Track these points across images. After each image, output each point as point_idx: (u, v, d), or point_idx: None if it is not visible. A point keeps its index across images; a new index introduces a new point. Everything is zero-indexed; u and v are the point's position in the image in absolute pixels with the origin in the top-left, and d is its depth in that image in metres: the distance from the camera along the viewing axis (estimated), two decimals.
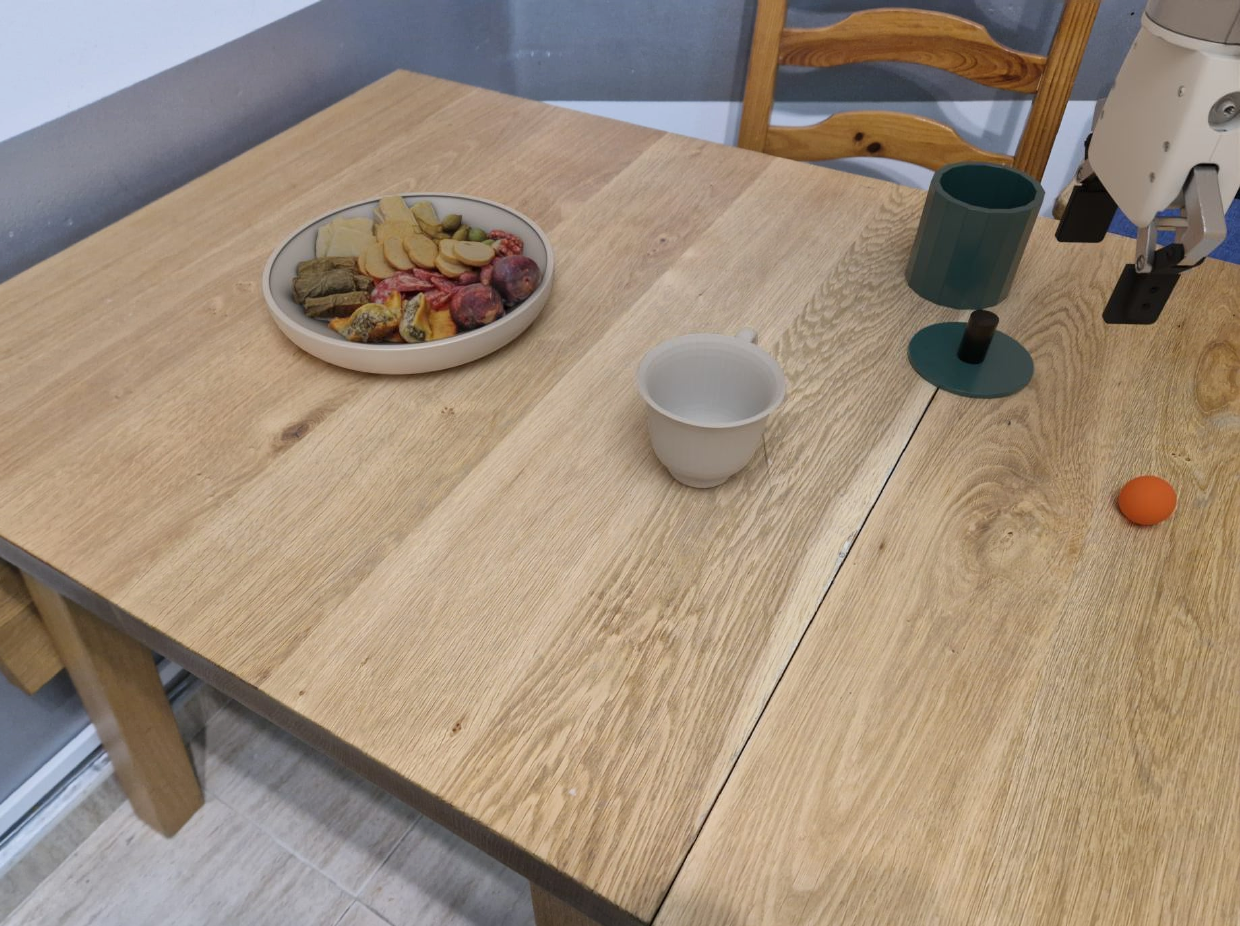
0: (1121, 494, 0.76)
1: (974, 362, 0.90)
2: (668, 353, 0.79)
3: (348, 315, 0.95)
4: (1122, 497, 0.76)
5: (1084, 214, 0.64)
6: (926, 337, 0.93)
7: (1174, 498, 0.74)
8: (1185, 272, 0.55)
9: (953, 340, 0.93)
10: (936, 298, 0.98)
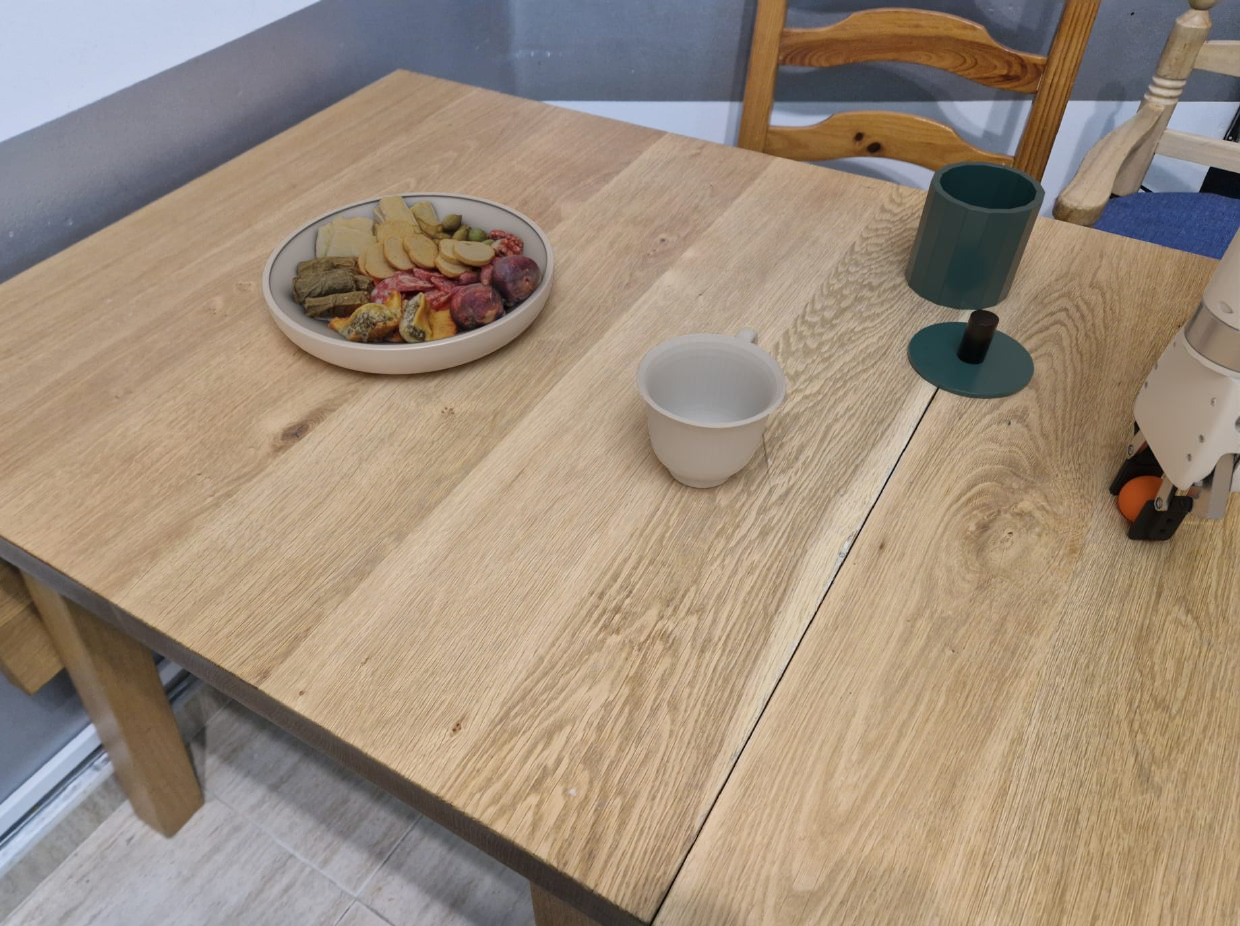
0: (1121, 494, 0.76)
1: (974, 362, 0.90)
2: (668, 353, 0.79)
3: (348, 315, 0.95)
4: (1122, 497, 0.76)
5: None
6: (926, 337, 0.93)
7: None
8: None
9: (953, 340, 0.93)
10: (936, 298, 0.98)
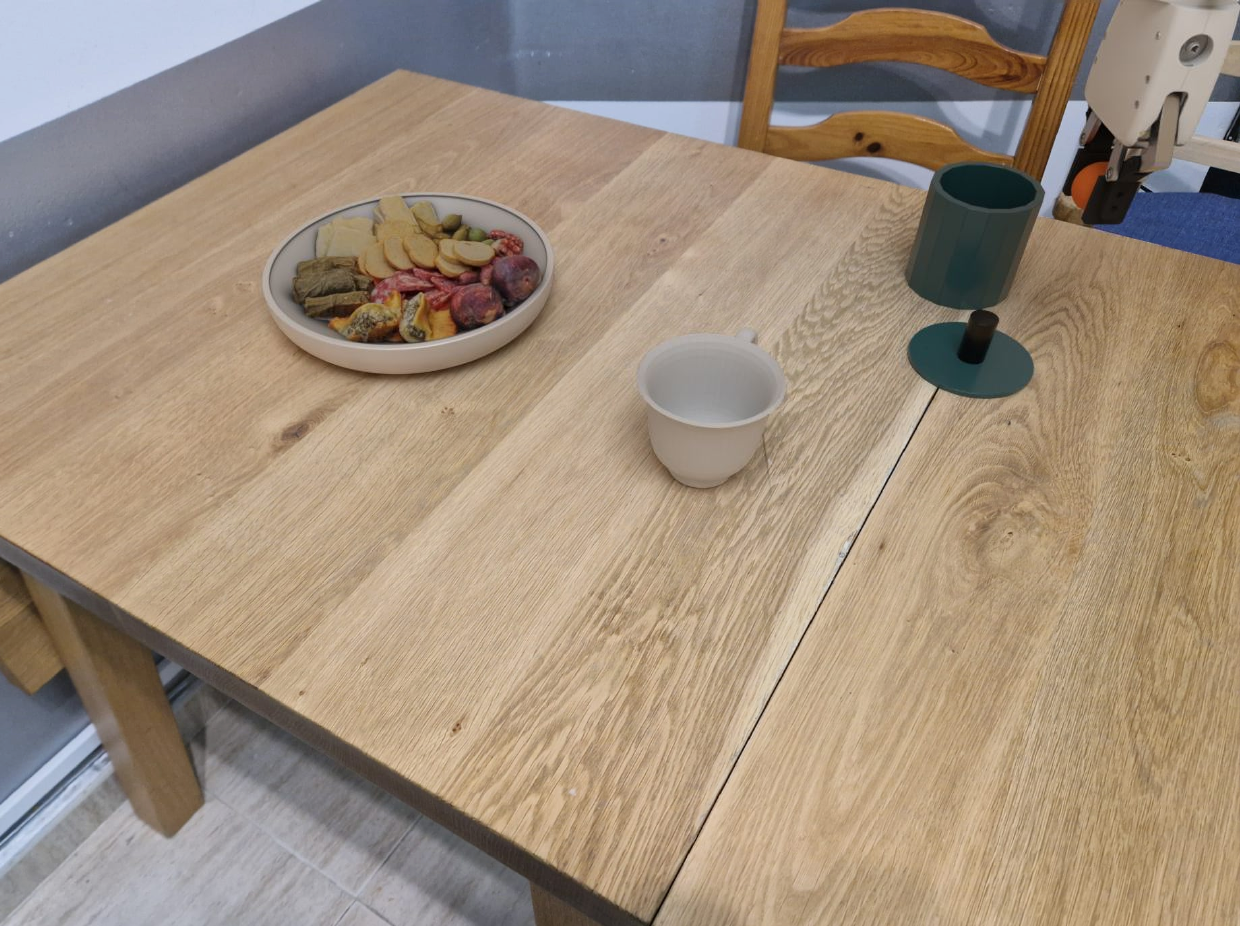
0: (1073, 183, 0.77)
1: (974, 362, 0.90)
2: (668, 353, 0.79)
3: (348, 315, 0.95)
4: (1075, 185, 0.77)
5: None
6: (926, 337, 0.93)
7: None
8: (1141, 181, 0.73)
9: (953, 340, 0.93)
10: (936, 298, 0.98)
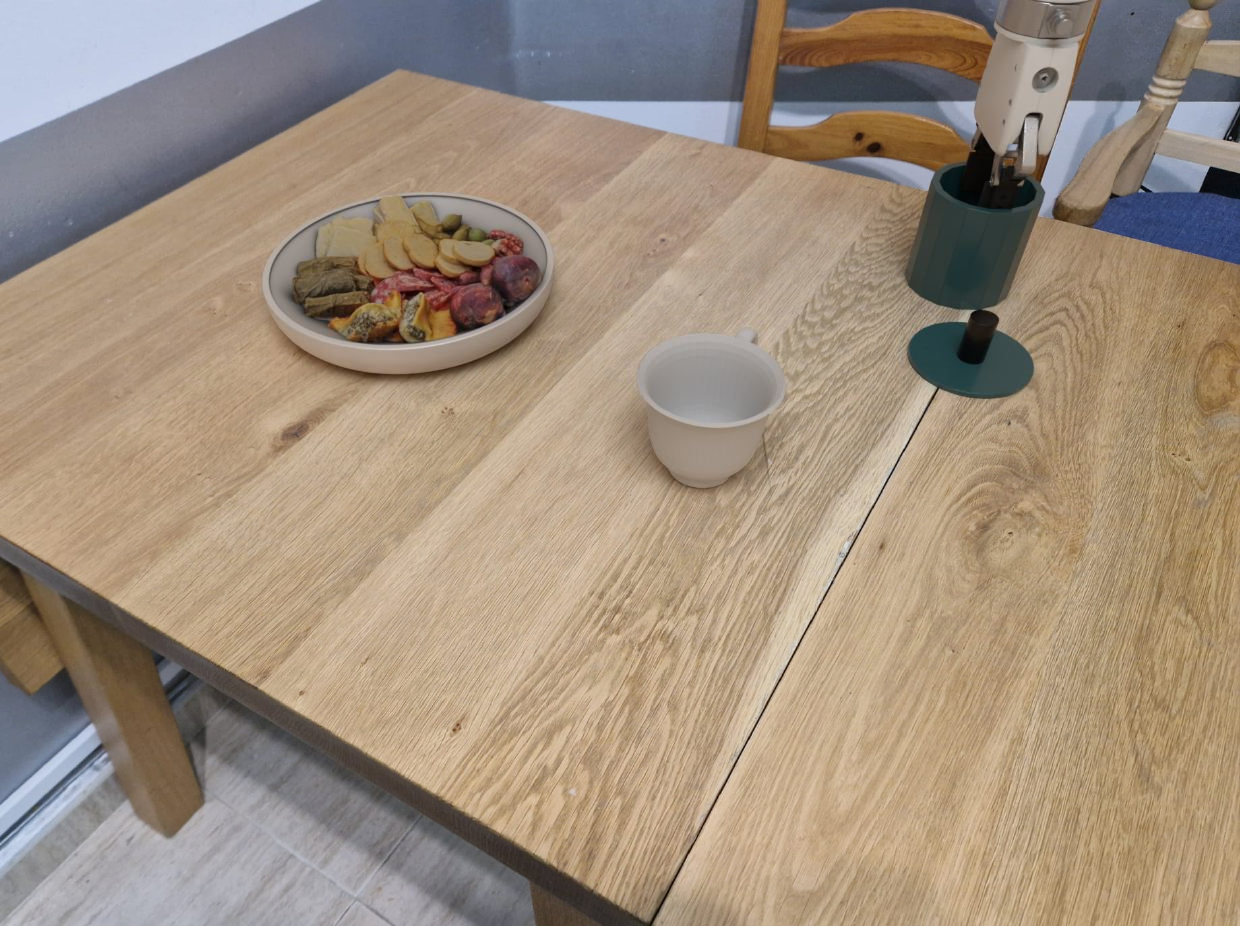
0: None
1: (974, 362, 0.90)
2: (668, 353, 0.79)
3: (348, 315, 0.95)
4: None
5: (977, 171, 0.95)
6: (926, 337, 0.93)
7: None
8: (1019, 186, 0.89)
9: (953, 340, 0.93)
10: (936, 298, 0.98)
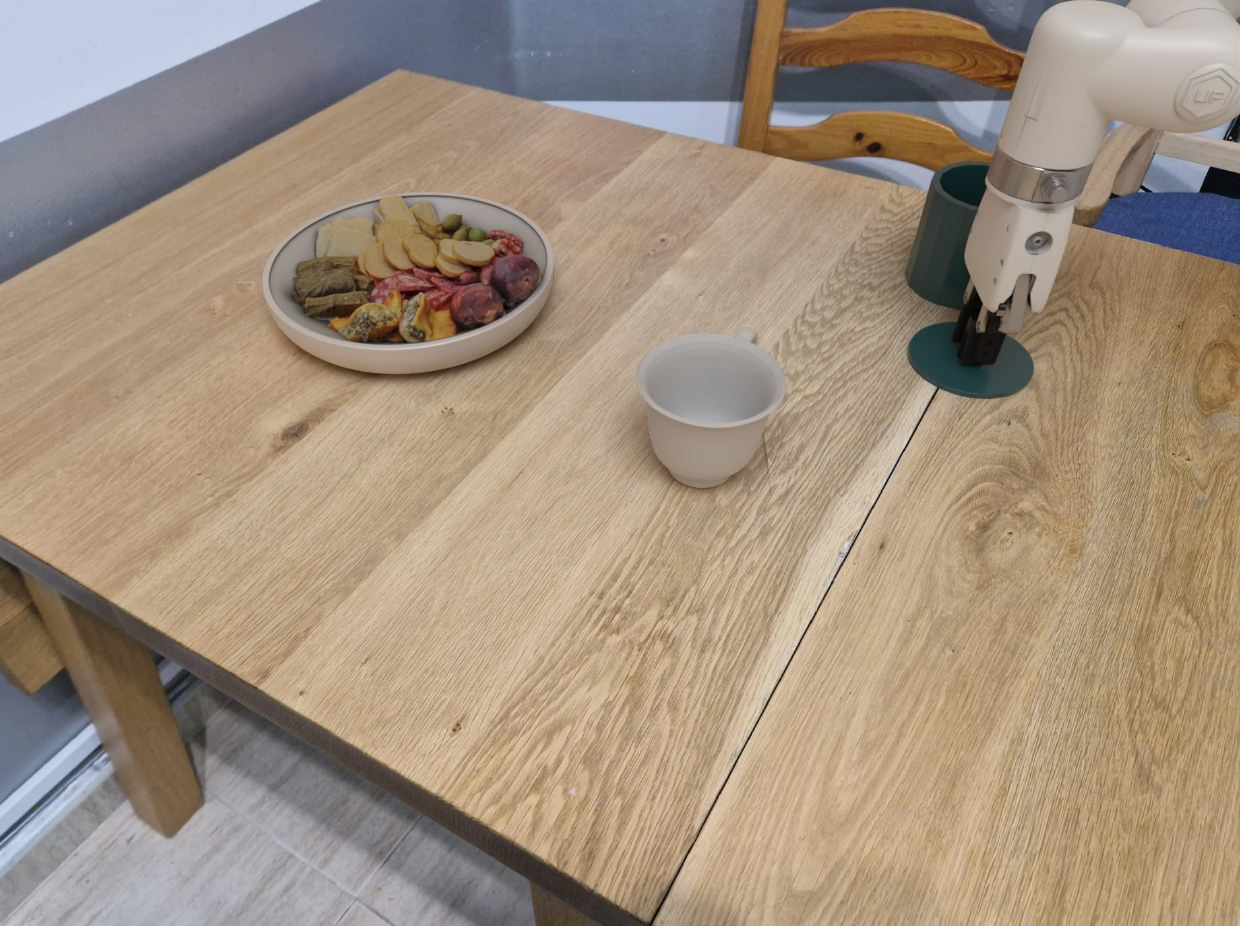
0: None
1: None
2: (668, 353, 0.79)
3: (348, 315, 0.95)
4: None
5: None
6: (926, 337, 0.93)
7: None
8: (1005, 333, 0.86)
9: None
10: (936, 298, 0.98)
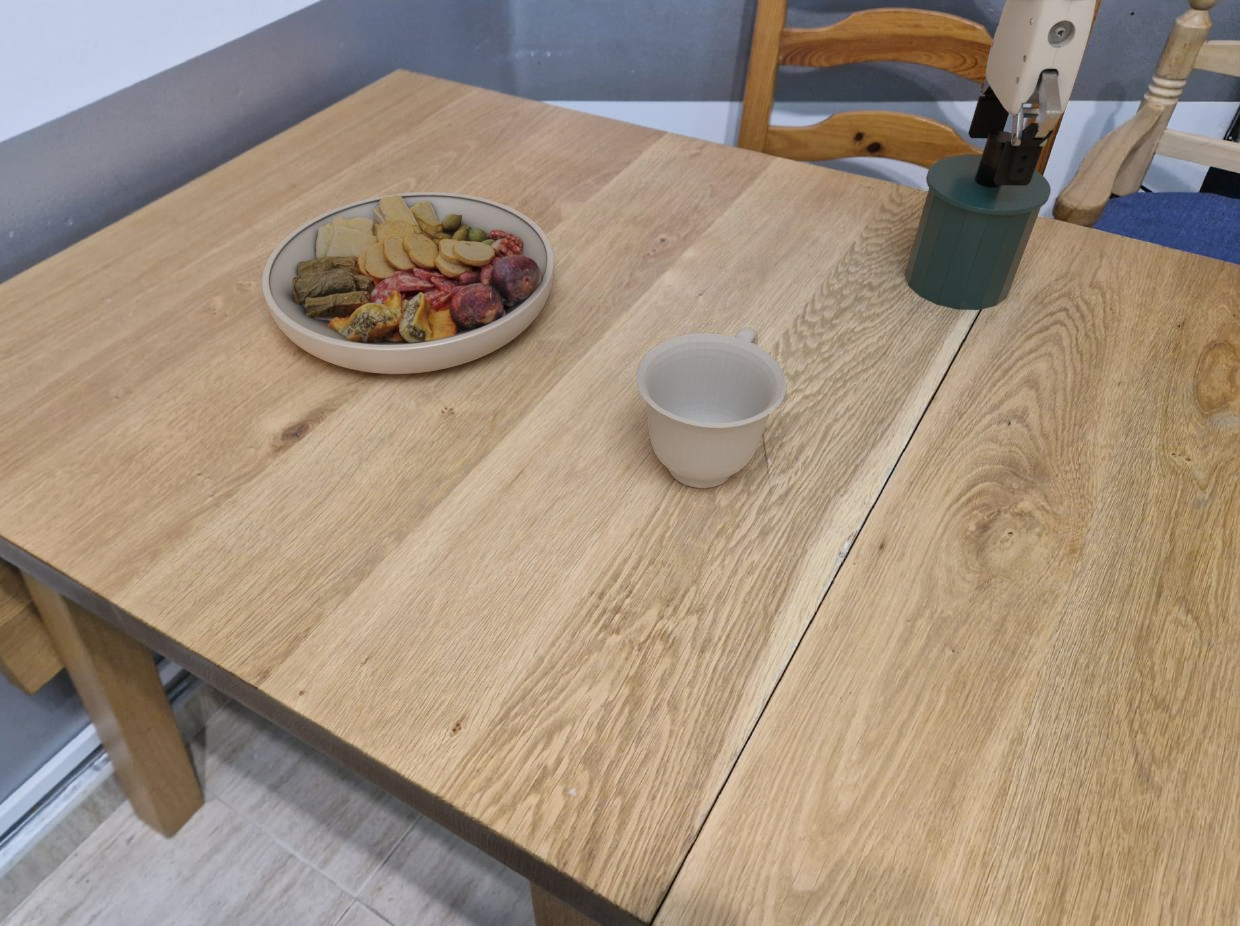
0: None
1: (992, 185, 0.92)
2: (668, 353, 0.79)
3: (348, 315, 0.95)
4: None
5: (987, 117, 0.93)
6: (944, 166, 0.95)
7: None
8: (1043, 144, 0.84)
9: (971, 168, 0.95)
10: (936, 298, 0.98)
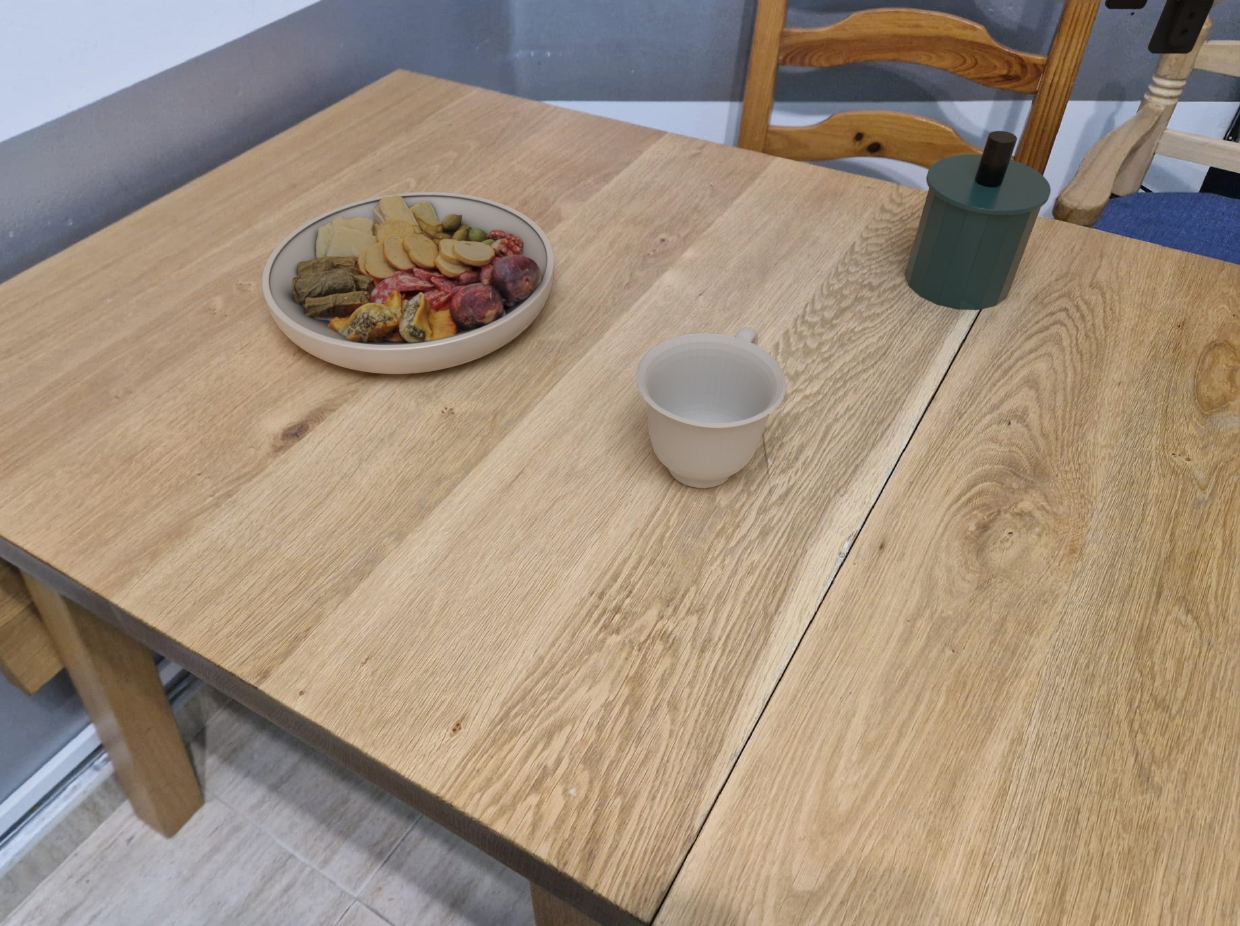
0: None
1: (992, 185, 0.92)
2: (668, 353, 0.79)
3: (348, 315, 0.95)
4: None
5: None
6: (944, 166, 0.95)
7: None
8: None
9: (971, 168, 0.95)
10: (936, 298, 0.98)
